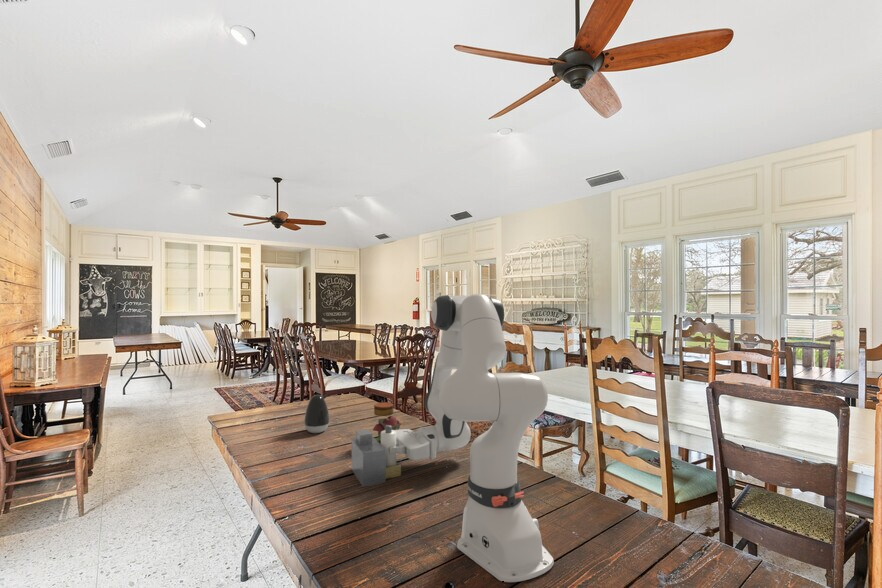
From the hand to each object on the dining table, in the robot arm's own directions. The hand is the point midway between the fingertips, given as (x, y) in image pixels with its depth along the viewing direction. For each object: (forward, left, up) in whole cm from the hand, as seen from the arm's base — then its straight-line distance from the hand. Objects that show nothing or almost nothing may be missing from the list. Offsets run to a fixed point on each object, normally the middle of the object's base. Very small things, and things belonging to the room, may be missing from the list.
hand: (385, 447), depth 136 cm
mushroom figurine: (+25, -8, -8) cm, 28 cm away
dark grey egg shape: (+51, +13, -8) cm, 53 cm away
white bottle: (0, -1, -7) cm, 7 cm away
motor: (+1, +3, -8) cm, 9 cm away
